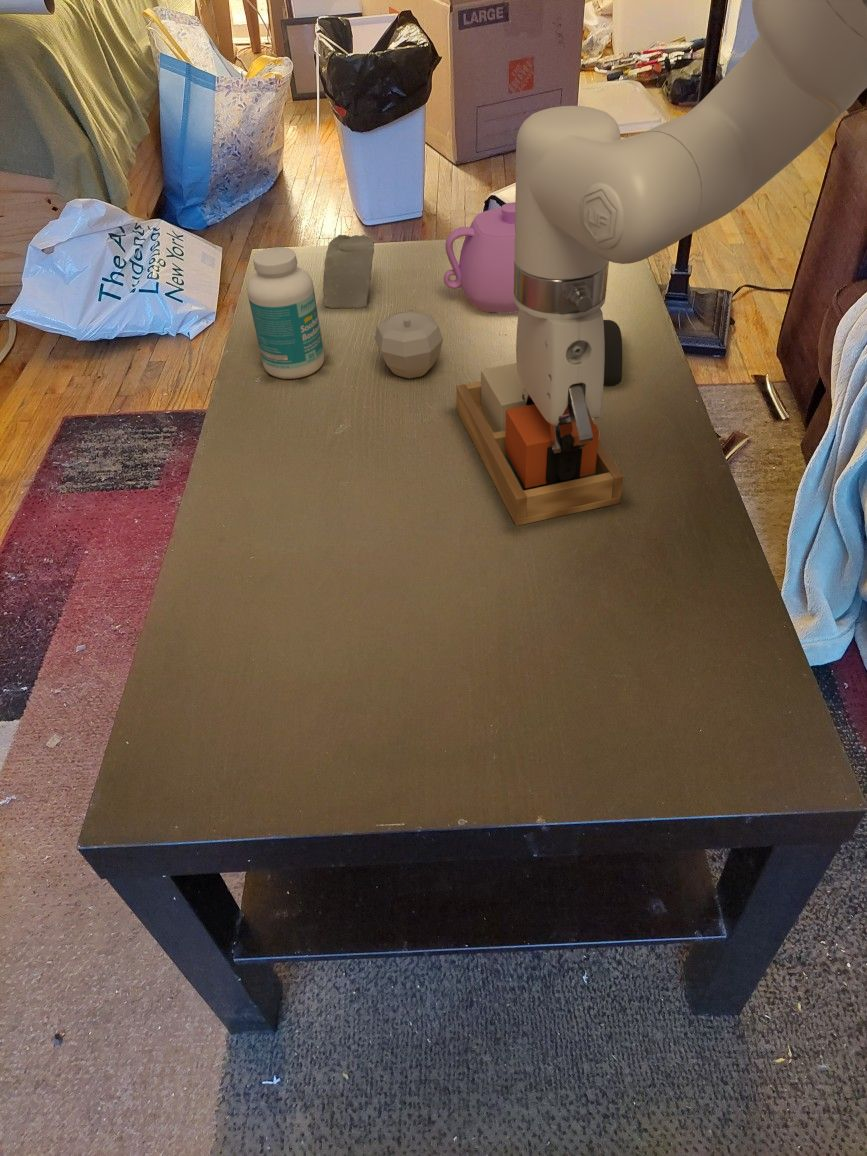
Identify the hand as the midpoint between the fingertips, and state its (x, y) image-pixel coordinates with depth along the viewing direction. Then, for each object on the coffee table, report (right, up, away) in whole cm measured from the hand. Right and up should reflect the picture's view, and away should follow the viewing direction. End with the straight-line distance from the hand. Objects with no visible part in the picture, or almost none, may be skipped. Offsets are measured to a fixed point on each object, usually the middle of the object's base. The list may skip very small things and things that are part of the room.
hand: (550, 458), depth 81 cm
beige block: (-2, +5, +8) cm, 10 cm away
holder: (-1, +1, +5) cm, 6 cm away
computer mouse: (+7, +14, +18) cm, 24 cm away
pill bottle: (-28, +14, +20) cm, 37 cm away
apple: (-14, +13, +18) cm, 26 cm away
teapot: (0, +25, +30) cm, 39 cm away
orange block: (0, 0, 0) cm, 1 cm away
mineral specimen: (-22, +26, +32) cm, 47 cm away
